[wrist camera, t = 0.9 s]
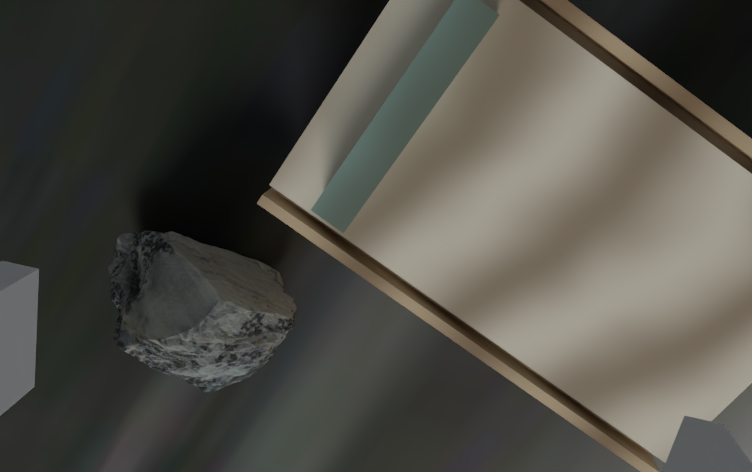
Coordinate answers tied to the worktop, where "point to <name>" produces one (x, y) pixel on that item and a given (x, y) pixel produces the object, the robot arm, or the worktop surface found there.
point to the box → (642, 75)
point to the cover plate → (541, 208)
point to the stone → (197, 308)
